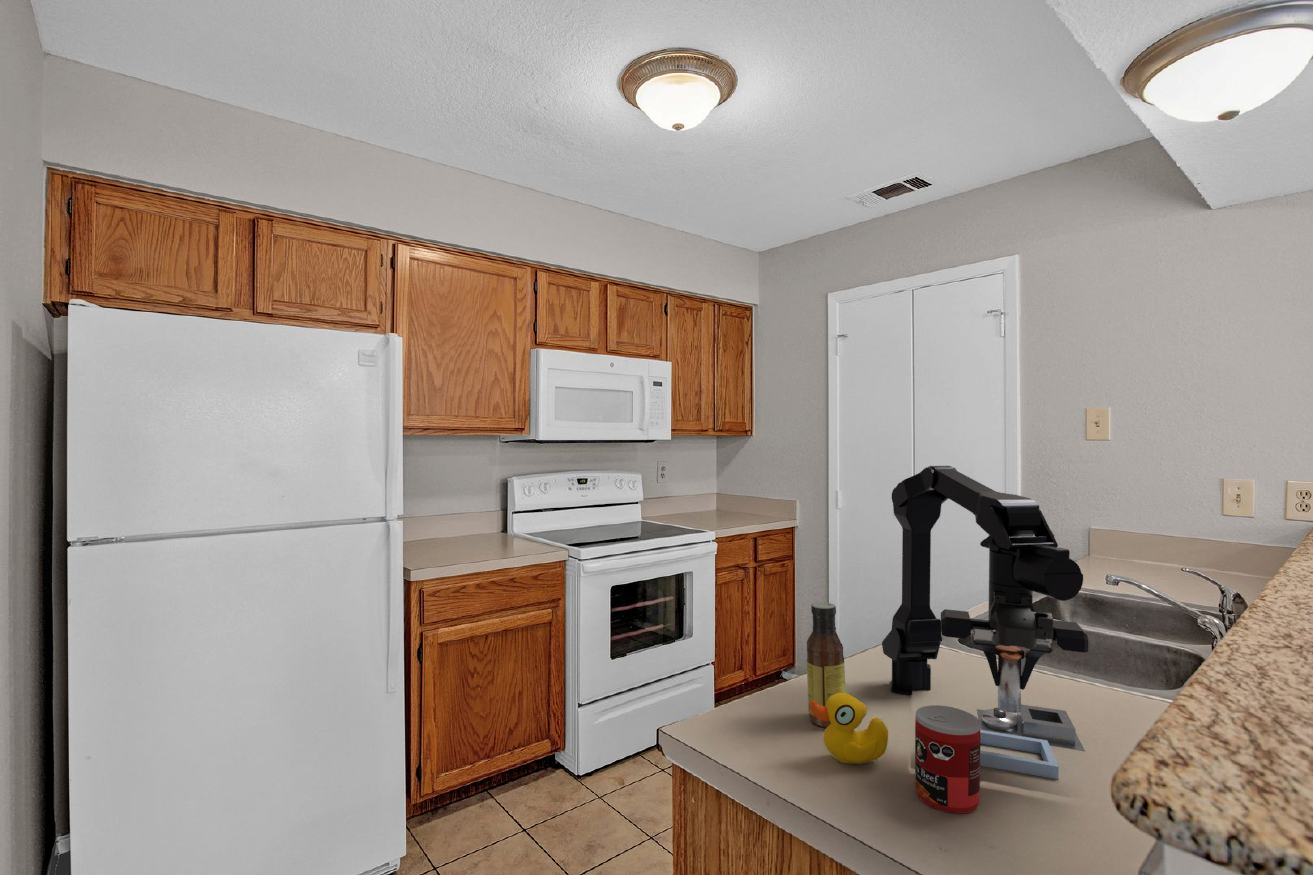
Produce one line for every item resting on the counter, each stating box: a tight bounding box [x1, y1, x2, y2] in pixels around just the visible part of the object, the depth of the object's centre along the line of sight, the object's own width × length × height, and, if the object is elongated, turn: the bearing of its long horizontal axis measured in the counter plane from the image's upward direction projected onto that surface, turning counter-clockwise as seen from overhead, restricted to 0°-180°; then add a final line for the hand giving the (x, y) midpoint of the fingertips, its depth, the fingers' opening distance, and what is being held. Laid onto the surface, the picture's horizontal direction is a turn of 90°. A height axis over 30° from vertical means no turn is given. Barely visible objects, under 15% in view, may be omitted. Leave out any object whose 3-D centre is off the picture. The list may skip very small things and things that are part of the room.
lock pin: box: [995, 644, 1025, 714], centre depth 95 cm, size 4×4×9 cm
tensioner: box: [976, 703, 1086, 752], centre depth 104 cm, size 14×10×3 cm
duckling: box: [810, 692, 889, 765], centre depth 95 cm, size 11×5×10 cm, turn 85°
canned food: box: [914, 704, 981, 814], centre depth 86 cm, size 8×8×11 cm
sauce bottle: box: [806, 601, 846, 729], centre depth 108 cm, size 7×6×20 cm
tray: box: [980, 729, 1060, 780], centre depth 95 cm, size 11×8×2 cm
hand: (1009, 686), depth 95 cm, fingers closed on lock pin, 3 cm apart
